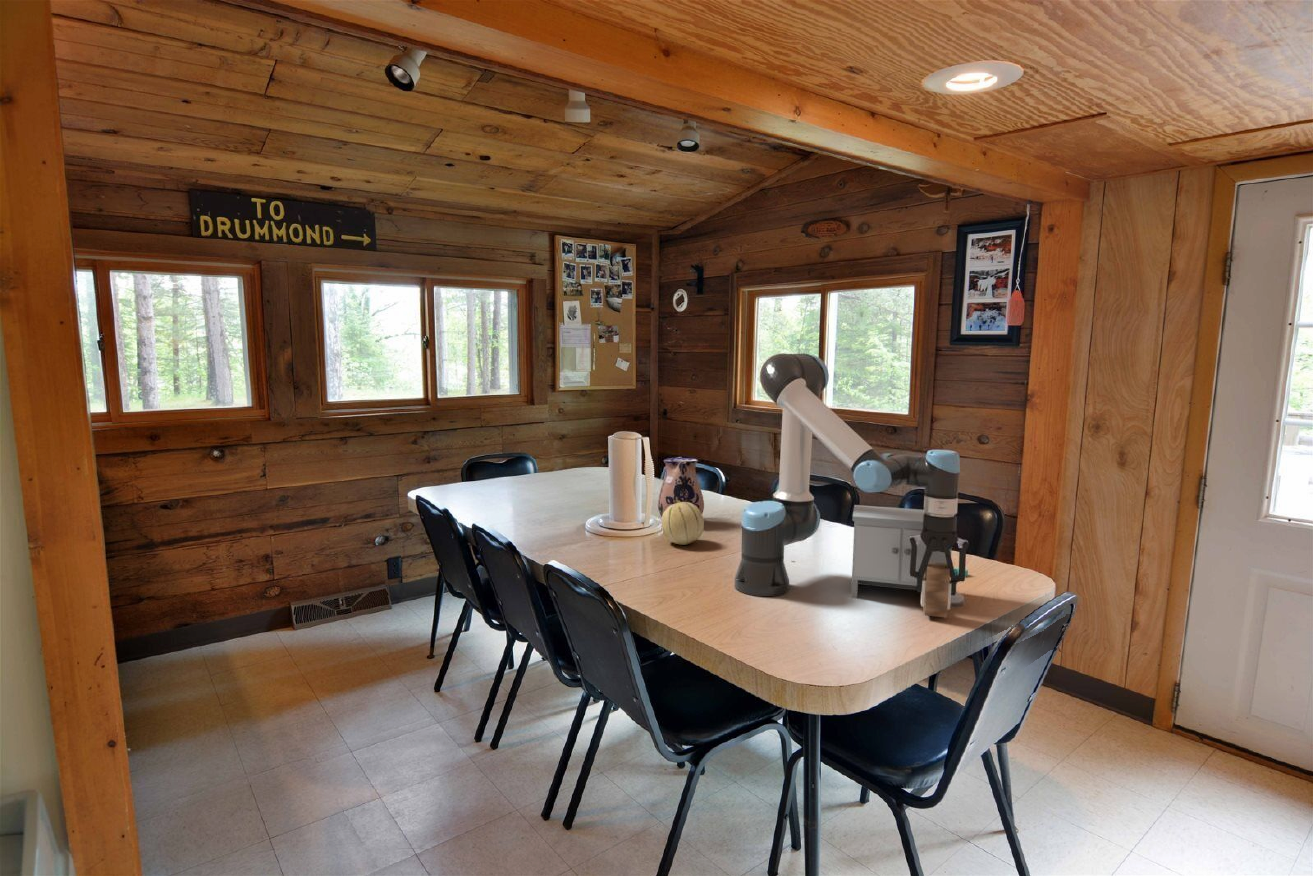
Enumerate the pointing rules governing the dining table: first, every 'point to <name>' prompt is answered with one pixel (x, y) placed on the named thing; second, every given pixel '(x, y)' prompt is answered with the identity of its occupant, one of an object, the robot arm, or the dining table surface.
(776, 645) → the dining table surface
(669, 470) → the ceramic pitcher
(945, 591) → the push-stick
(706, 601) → the dining table surface
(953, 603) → the steel puck
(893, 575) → the cabinet
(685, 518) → the cantaloupe
